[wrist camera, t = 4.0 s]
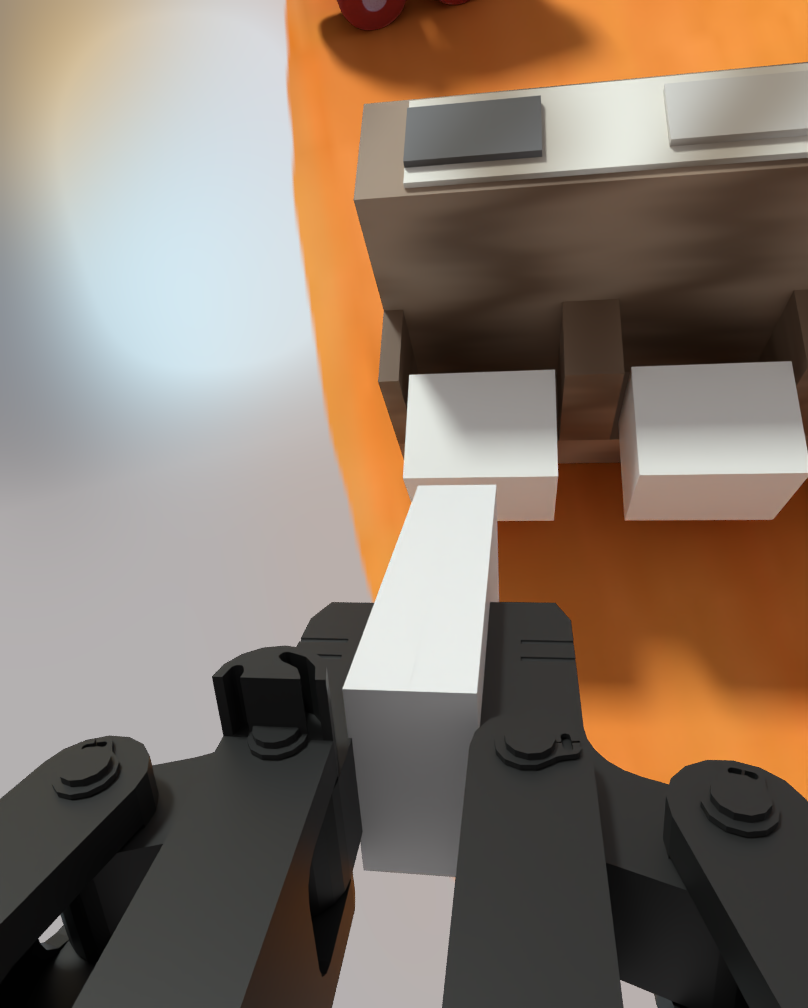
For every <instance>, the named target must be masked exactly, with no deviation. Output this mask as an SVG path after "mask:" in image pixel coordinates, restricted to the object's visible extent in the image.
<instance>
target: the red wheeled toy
mask: <svg viewBox="0 0 808 1008" xmlns="http://www.w3.org/2000/svg"><path fill="white" fill-rule="evenodd" d="M439 1H441V2H443V3H446V4H450V5H456V4H462V3H465V2H468V1H470V0H439ZM337 2H338V4H339V7H340V9H341V12H342V14H343V16H344V17H345V18H346V19H347V20H348V21H349V22H350V23H351V24H352V25H353V26H355V27H357V28H359V29H363V30H376V29H380V28H383V27H385V26H387V25H389V24H390V23H391V22H392V21H394V20H395V19H396V18H397V17H398V16H399V14H400V13H401V11H402V9H403V7H404V4H405V2H406V0H337Z"/></svg>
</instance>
